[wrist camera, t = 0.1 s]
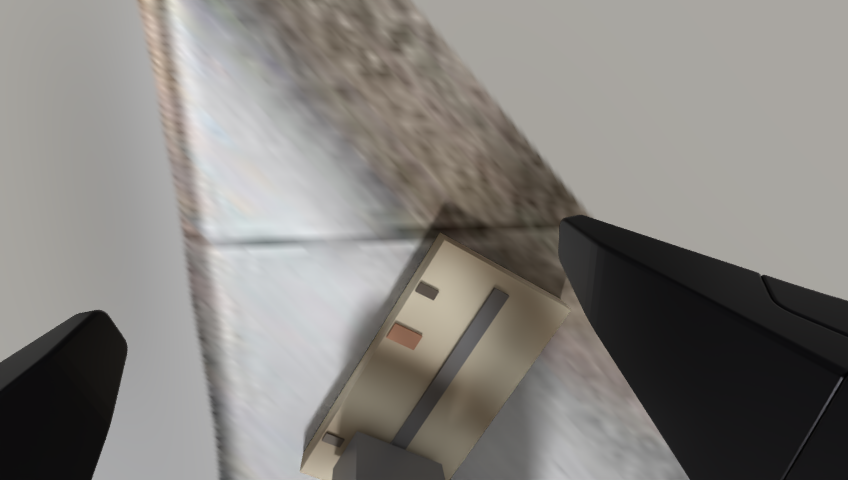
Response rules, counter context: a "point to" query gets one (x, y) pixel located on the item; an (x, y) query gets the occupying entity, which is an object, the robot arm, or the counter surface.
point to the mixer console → (441, 361)
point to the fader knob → (383, 462)
